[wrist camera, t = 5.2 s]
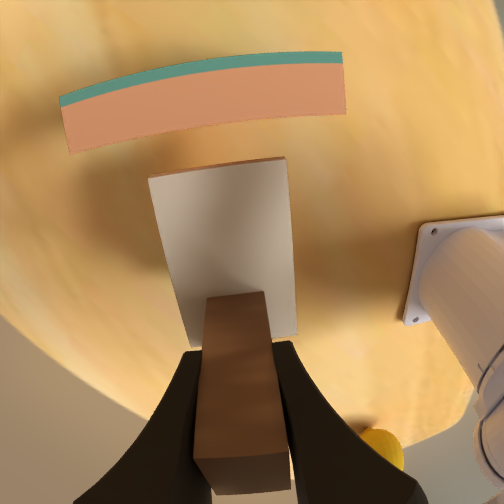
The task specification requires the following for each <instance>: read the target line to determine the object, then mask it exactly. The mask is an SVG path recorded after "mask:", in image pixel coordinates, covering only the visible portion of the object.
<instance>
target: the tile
mask: <svg viewBox="0 0 504 504" xmlns="http://www.w3.org/2000/svg"><path fill="white" fill-rule="evenodd" d="M59 100H60V106H61V112H62V117H63V123H64V128H65V133H66V138H67V143H68V147H69V152H70V155H71V154H75V153H78V152H82V151H85V150H89V149H93V148H97V147H101V146H105V145H109V144H113V143H118V142H122V141H126V140H131V139H135V138H140V137H145V136H150V135H155V134H160V133H166V132H171V131H177V130H183V129H189V128H195V127H202V126H208V125H216V124H223V123H231V122H239V121H248V120H258V119H269V118H281V117H296V116H314V115H346V100H345V84H344V71H343V59H342V52H278V53H262V54H250V55H239V56H230V57H222V58H214V59H207V60H200V61H194V62H188V63H182V64H177V65H172V66H167V67H162V68H157V69H153V70H148V71H144V72H140V73H135V74H131V75H128V76H124V77H120V78H116V79H113V80H109V81H106V82H102V83H99V84H96V85H92V86H89V87H86V88H83V89H80V90H77V91H74V92H71V93H68V94H66V95H63V96H60V97H59Z"/></svg>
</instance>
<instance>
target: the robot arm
mask: <svg viewBox="0 0 504 504" xmlns="http://www.w3.org/2000/svg"><path fill="white" fill-rule="evenodd" d="M434 228H435V230H434V231H433V233H431V232H432V230H433V229H434ZM415 317H416V318H415ZM431 320H432V321H433V323H434V324H435V326H436V327H437V329H438V330H439V332H440V333H441V335H442V336H443V338H444V339H445V341H446V342H447V344H448V345H449V347H450V348H451V350H452V351H453V353H454V355H455V356H456V358H457V359H458V361H459V362H460V364H461V366H462V367H463V369H464V371H465V372H466V374H467V376H468V377H469V379H470V380H471V382H472V384H473V386H474V387H475V389H476V391H477V392H478V394H479V397H478V399H477V401H476V402H475V404H474V405H473V407H474V408H475V410H476V412H477V414H478V416H479V418H480V419H479V421H478V422H477V424H476V427H475V430H474V435H473V448H474V454H475V458H476V461H477V463H478V466H479V468H480V470H481V471H482V473H483V474H484V476H485V477H486V478H487V479H488V480H489V481H490V482H491V483H492V484H493V485H494V486H496V487H498V488H499V489H502V490H503V491H501V492H499V493H498V494H497V495H495V496H493V497H492V498H491V499H489V500H488V501H487V502H485V503H484V504H504V215H499V216H489V217H479V218H469V219H459V220H450V221H440V222H431V223H425V224H423V225H422V226H421V227H420V229H419V234H418V241H417V247H416V253H415V259H414V265H413V271H412V276H411V281H410V287H409V291H408V296H407V301H406V305H405V310H404V314H403V318H402V322H403V323H404V325H405V326H410V325H414V324H418V323H423V322H427V321H431ZM271 344H272V350H273V357H274V363H275V367H276V371H277V376H278V383H279V389H280V396H281V402H282V409H283V415H284V422H285V428H286V435H287V442H288V446H289V450H290V454H291V458H292V463H293V470H294V477H295V484H296V491H297V498H298V504H428V500H427V497H426V495H425V493H424V491H423V490H422V488H421V486H420V485H419V483H418V482H417V480H415V479H414V478H412V477H411V476H409V475H408V474H406V473H404V472H403V471H401V470H400V469H399V468H397V467H396V466H394V465H393V464H391V463H390V462H389V461H388V460H386V459H385V458H384V457H382V456H381V455H380V454H379V453H377V452H376V451H375V450H374V449H373V448H372V447H370V446H369V445H368V444H367V443H366V442H365V441H364V440H362V439H361V438H360V437H359V436H358V435H357V434H356V433H355V432H354V431H353V430H352V429H351V428H350V427H349V426H348V425H347V424H346V423H345V421H344V420H343V419H342V418H341V417H340V416H339V415H338V414H337V413H336V411H335V410H334V409H333V408H332V406H331V405H330V404H329V403H328V401H327V400H326V399H325V398H324V396H323V395H322V393H321V392H320V391H319V389H318V388H317V386H316V385H315V383H314V382H313V380H312V379H311V377H310V376H309V374H308V373H307V371H306V369H305V368H304V366H303V364H302V362H301V361H300V359H299V357H298V355H297V353H296V351H295V348H294V346H293V343H292V342H291V341H282V342H275V343H271ZM201 361H202V350H199V351H186V352H185V353H184V354H183V356H182V358H181V360H180V363H179V365H178V367H177V370H176V372H175V374H174V376H173V378H172V380H171V382H170V384H169V386H168V388H167V390H166V392H165V394H164V396H163V397H162V399H161V401H160V403H159V405H158V406H157V408H156V410H155V411H154V413H153V415H152V416H151V418H150V420H149V421H148V423H147V424H146V426H145V427H144V429H143V430H142V432H141V433H140V435H139V436H138V437H137V439H136V440H135V441H134V443H133V444H132V445H131V446H130V448H129V449H128V450H127V451H126V452H125V454H124V455H123V456H122V457H121V458H120V460H119V461H118V462H117V463H116V464H115V465H114V466H113V467H112V468H111V469H110V470H109V471H108V472H107V473H106V474H105V475H104V476H103V477H102V478H101V479H100V480H99V481H98V482H97V483H96V484H95V485H93V486H92V487H91V488H90V489H88V490H87V491H86V492H85V493H84V494H82V495H81V496H80V497H79V498H77V499H76V500H75V501H74V502H73V504H212V495H211V486H210V485H209V483H208V482H207V480H206V478H205V477H204V475H203V474H202V472H201V470H200V469H199V467H198V466H197V464H196V462H195V461H194V459H193V453H194V438H195V423H196V410H197V397H198V385H199V377H200V372H201Z"/></svg>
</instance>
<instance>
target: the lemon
mask: <svg viewBox="0 0 504 504" xmlns="http://www.w3.org/2000/svg"><path fill="white" fill-rule="evenodd" d="M359 437H360V438H361V439H362V440H364V441H365V442H366V443H367V444H368V445H369V446H370V447H372V448H373V449H374V450H375V451H376V452H377V453H379V454H380V455H381V456H382V457H384V458H385V459H386V460H388V461H389V462H390V463H391V464H393V465H394V466H396V467H397V468H399V469H400V470H401V471H403V468H404V456H403V451H402V448H401V445H400V443H399V441H398V439H397V438H396V437H395V436H394V435H393V434H392V433H390V432H388V431H386V430H382V429H372V428H366V429H365V430H364V432H363V434H362V435H360V436H359Z"/></svg>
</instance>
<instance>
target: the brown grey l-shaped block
mask: <svg viewBox="0 0 504 504" xmlns="http://www.w3.org/2000/svg"><path fill="white" fill-rule="evenodd" d="M148 183H149V188H150V193H151V198H152V202H153V207H154V211H155V216H156V220H157V225H158V229H159V233H160V237H161V241H162V245H163V250H164V254H165V257H166V261H167V265H168V269H169V273H170V277H171V280H172V284H173V288H174V291H175V295H176V299H177V302H178V306H179V309H180V313H181V316H182V320H183V323H184V326H185V330H186V333H187V336H188V339H189V343H190V346H191V347H198V346H202V361H201V372H200V377H199V385H198V397H197V410H196V423H195V438H194V453H193V459H194V461H195V462H196V464H197V466H198V467H199V469H200V470H201V472H202V474H203V475H204V477H205V478H206V480H207V482H208V483H209V485H210V486H211V488H212V489H213V490H214V492H215V494H216V495H237V494H251V493H264V492H273V491H282V490H289V489H291V483H290V482H291V481H290V461H289V448H288V442H287V435H286V428H285V422H284V415H283V409H282V402H281V396H280V389H279V383H278V376H277V371H276V367H275V363H274V357H273V350H272V344H271V343H272V339H273V338H280V337H287V336H295V335H297V319H296V296H295V276H294V259H293V242H292V227H291V213H290V199H289V186H288V174H287V162H286V158H285V157H284V156H283V157H273V158H264V159H255V160H247V161H238V162H231V163H223V164H216V165H209V166H202V167H196V168H189V169H183V170H177V171H171V172H165V173H160V174H154V175H151V176H150V177H149V178H148Z"/></svg>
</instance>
